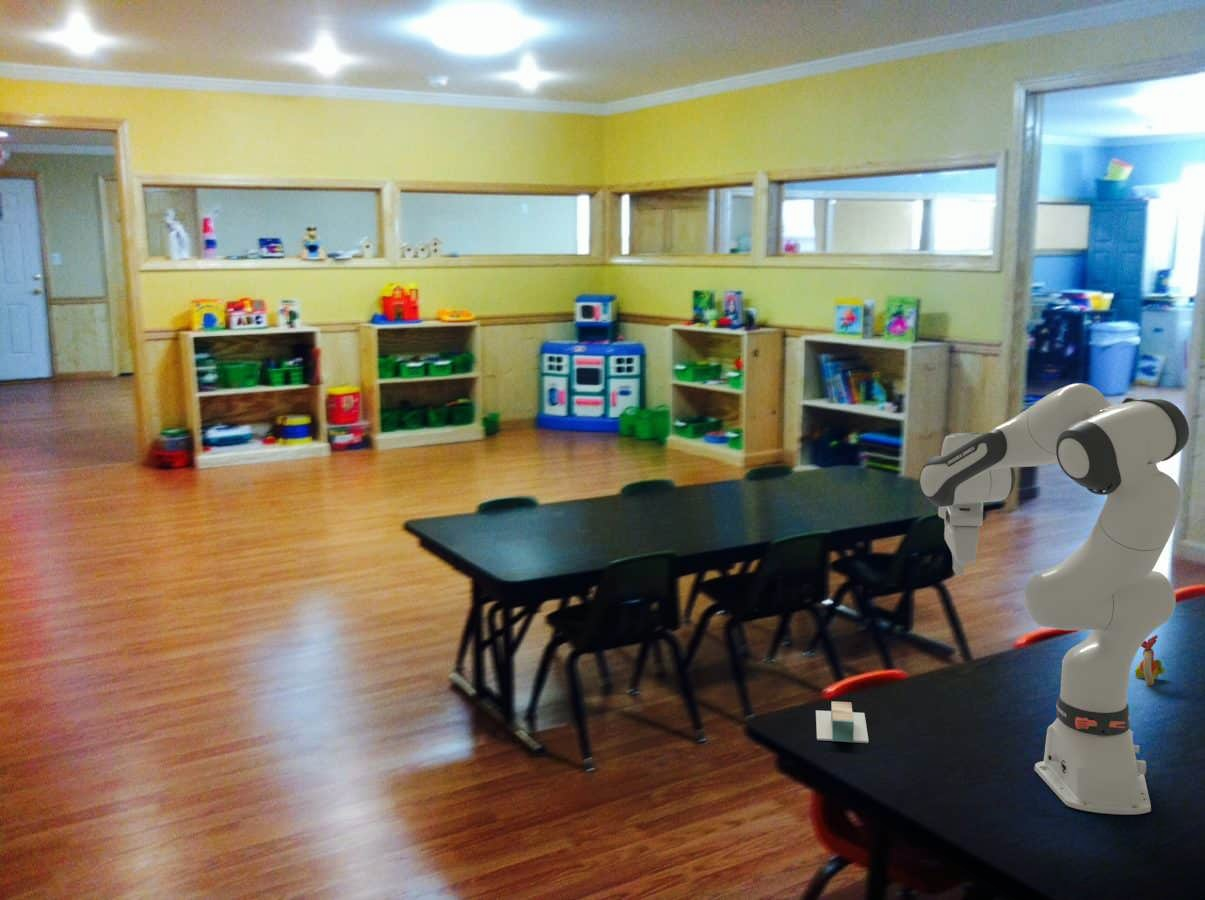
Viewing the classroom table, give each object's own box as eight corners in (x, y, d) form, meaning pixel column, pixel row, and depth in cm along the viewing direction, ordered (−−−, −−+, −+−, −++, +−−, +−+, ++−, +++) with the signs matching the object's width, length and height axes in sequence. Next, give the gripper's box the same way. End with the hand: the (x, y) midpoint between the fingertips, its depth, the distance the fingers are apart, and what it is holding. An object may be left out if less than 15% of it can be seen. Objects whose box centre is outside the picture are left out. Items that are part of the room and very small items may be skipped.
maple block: (850, 720, 225) (853, 741, 216) (831, 719, 226) (832, 740, 216) (851, 702, 225) (853, 722, 215) (831, 701, 225) (832, 720, 216)
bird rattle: (1164, 696, 242) (1165, 668, 248) (1168, 659, 236) (1168, 631, 243) (1133, 692, 244) (1134, 664, 251) (1135, 655, 239) (1136, 628, 245)
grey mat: (868, 743, 216) (868, 741, 216) (816, 740, 217) (816, 738, 217) (864, 714, 229) (864, 712, 229) (815, 712, 231) (815, 710, 231)
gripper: (938, 498, 237) (936, 559, 240) (951, 519, 217) (948, 586, 220) (968, 498, 236) (966, 560, 238) (984, 520, 216) (981, 587, 219)
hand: (958, 573), depth 229 cm, fingers closed
